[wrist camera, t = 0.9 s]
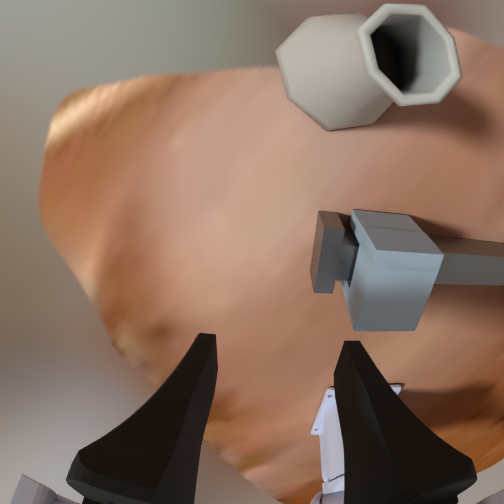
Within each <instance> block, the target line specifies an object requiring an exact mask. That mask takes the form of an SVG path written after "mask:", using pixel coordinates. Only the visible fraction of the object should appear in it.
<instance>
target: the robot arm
mask: <svg viewBox="0 0 504 504" xmlns="http://www.w3.org/2000/svg"><path fill="white" fill-rule="evenodd" d="M217 371H218V362H217V346H216V334H206V333H199V334H198V335H197V337H196V338H195V340H194V342H193V344H192V345H191V347H190V348H189V350H188V351H187V353H186V354H185V356H184V357H183V359H182V360H181V362H180V363H179V364H178V366H177V367H176V368H175V370H174V371H173V372H172V374H171V375H170V376H169V377H168V378H167V380H166V381H165V382H164V383H163V384H162V386H161V387H160V388H159V389H158V390H157V391H156V392H155V393H154V395H153V396H152V397H151V398H150V399H149V400H148V401H147V402H146V403H145V404H144V405H143V406H141V407H140V408H139V409H138V410H137V411H136V412H135V413H134V414H132V415H131V416H130V417H129V418H128V419H126V420H125V421H124V422H123V423H121V424H120V425H119V426H117V427H116V428H114V429H113V430H112V431H110V432H109V433H107V434H106V435H105V436H103V437H101V438H100V439H98V440H97V441H95V442H93V443H91V444H90V445H88V446H86V447H84V448H83V449H81V450H79V451H78V453H77V455H76V457H75V458H74V460H73V462H72V464H71V467H70V470H69V472H68V475H67V478H66V481H67V483H68V484H69V485H70V486H71V487H72V488H73V489H75V490H76V491H77V492H79V493H80V494H81V495H83V496H84V499H83V503H82V504H194V499H195V489H196V481H197V473H198V465H199V457H200V451H201V444H202V440H203V435H204V431H205V427H206V424H207V420H208V416H209V412H210V408H211V404H212V400H213V396H214V392H215V386H216V379H217ZM400 391H401V385H398V384H397V385H389V384H388V382H387V381H386V380H385V378H384V377H383V375H382V374H381V373H380V371H379V370H378V368H377V367H376V365H375V364H374V362H373V361H372V359H371V358H370V356H369V355H368V353H367V351H366V350H365V348H364V347H363V345H362V344H361V342H360V341H344V344H343V347H342V350H341V353H340V356H339V359H338V362H337V365H336V368H335V371H334V387H331V388H328V389H327V390H326V392H325V395H324V398H323V401H322V403H321V406H320V409H319V412H318V414H317V417H316V419H315V422H314V425H313V427H312V430H311V434H312V435H319V437H320V451H321V468H322V477H323V480H324V482H325V483H323V492H318V493H317V494H316V495H315V497H314V498H313V500H312V501H311V504H457V503H458V497H457V495H458V494H460V493H461V492H463V491H464V490H466V489H467V488H469V487H470V486H472V485H473V484H474V483H475V482H476V480H477V475H476V471H475V467H474V464H473V461H472V459H471V458H469V457H468V456H466V455H464V454H463V453H461V452H459V451H458V450H456V449H455V448H453V447H452V446H450V445H449V444H447V443H446V442H445V441H443V440H442V439H441V438H439V437H438V436H437V435H436V434H435V433H434V432H432V431H431V430H430V429H429V428H428V427H427V426H425V425H424V424H423V423H422V422H421V421H420V420H419V419H418V418H417V417H416V416H415V415H414V414H413V413H412V412H411V411H410V410H409V408H408V407H407V406H406V405H405V404H404V403H403V402H402V400H401V399H400V398H399V397H398V394H399V392H400ZM9 504H79V503H77V502H74V501H72V500H69V499H67V498H65V497H63V496H60V495H58V494H56V493H55V492H54V491H53V490H52V489H50V488H48V487H47V486H45V485H43V484H41V483H39V482H37V481H35V480H33V479H31V478H30V477H28V476H26V475H24V474H21V475H20V477H19V480H18V483H17V485H16V487H15V490H14V492H13V495H12V498H11V500H10V503H9ZM477 504H504V490H501V491H499V492H497V493H495V494H493V495H491V496H488V497H487V498H485V499H483V500H481V501H480V502H478V503H477Z"/></svg>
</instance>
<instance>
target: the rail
mask: <svg viewBox="0 0 504 504" xmlns="http://www.w3.org/2000/svg"><path fill="white" fill-rule="evenodd" d="M428 237H429V238H430V239H431V240H432V241H433V242H434V244H435V245H436V246H437V247H438V248H439V249H440V251H441V252H442V253H443V254H444V256H443V259H442V262H441V265H440V268H439V271H438V274H437V277H436V279H435V282H434V284H452V285H504V243H497V242H489V241H480V240H471V239H462V238H453V237H443V236H433V235H428ZM359 245H360V244H359V242H358V240H357V238H356V236H355V234H354V232H353V230H352V228H344V226H343V224H342V222H341V220H340V218H339V215H338V213H337V212H326V211H318V218H317V226H316V233H315V241H314V248H313V255H312V262H311V268H310V273H311V279H312V285H313V291H314V293H332V294H333V289H334V284H335V280H340V281H352V277H353V272H354V268H355V264H356V259H357V255H358V250H359Z"/></svg>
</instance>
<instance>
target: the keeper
mask: <svg viewBox="0 0 504 504" xmlns="http://www.w3.org/2000/svg"><path fill="white" fill-rule="evenodd" d="M350 226H351V228H352V230H353V232H354V234H355V236H356V238H357V240H358V242H359V244H360V245H359V250H358V255H357V259H356V264H355V268H354V272H353V277H352V281H340V283H341V286H342V289H343V293H344V296H345V300H346V305H347V308H348V312H349V315H350V319H351V323H352V327H353V330H354V331H415V329H416V327H417V325H418V322H419V320H420V318H421V315H422V313H423V310H424V308H425V305H426V303H427V301H428V298H429V295H430V293H431V290H432V288H433V285H434V282H435V279H436V277H437V274H438V271H439V268H440V265H441V262H442V259H443V256H444V254H443V253H442V252H441V251H440V249H439V248H438V247H437V246H436V245H435V244H434V242H433V241H432V240H431V239H430V238H429V237H428V235H427V234H426V233H424V232H423V231H422V230H421V229H420V227H419V226H418V225H417V224H416V223H415V222H414V221H413V220H412V219H411V217H410V216H409V215H401V214H392V213H382V212H372V211H362V210H352V214H351V220H350Z"/></svg>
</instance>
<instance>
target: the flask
mask: <svg viewBox="0 0 504 504" xmlns="http://www.w3.org/2000/svg"><path fill="white" fill-rule="evenodd" d="M275 53H276V57H277V60H278V64H279V68H280V71H281V75H282V79H283V83H284V87H285V90H286V94H287V98H288V99H289V100H290V101H291V102H293V103H294V104H295V105H296V106H297V107H299V108H300V109H301V110H302V111H303V112H305V113H306V114H307V115H308V116H309V117H310V118H312V119H313V120H314V121H315V122H316V123H317V124H318V125H320V126H321V127H322V128H323V129H324V130H325V131H330V130H336V129H342V128H349V127H355V126H362V125H369V124H373V123H374V122H375V121H376V120H377V119H378V118H379V117H380V116H381V115H382V114H383V113H384V112H385V111H386V110H387V108H388V107H389V106H390V105H391V104H392V103H393V102H395V103H396V104H397V105H398V106H411V105H424V104H439V103H440V102H441V101H442V100H443V99H444V98H445V97H446V96H447V95H448V93H449V92H450V91H451V90H452V89H453V88H454V87H455V86H456V85H457V83H458V82H459V81H460V80H461V79H462V73H461V67H460V62H459V57H458V52H457V48H456V43H455V39H454V37H453V36H452V34H451V33H450V32H449V31H448V30H447V29H446V27H445V26H444V25H443V24H442V23H441V22H440V21H439V20H438V19H437V18H436V16H434V14H433V13H432V12H431V11H430V10H429V9H428V8H427V7H426V6H425V5H416V4H384V5H382V6H381V7H380V8H379V9H378V10H377V11H376V12H375V13H374V14H373V15H372V16H371V17H370V18H369V19H368V18H367V17H365V16H363V15H361V14H359V13H345V14H344V13H343V14H332V15H323V16H315V17H308V18H307V19H306V20H305V21H304V22H303V23H302V24H301V25H300V26H299V27H298V28H297V29H296V30H295V31H294V32H293V33H292V34H291V35H290V36H289V37H288V38H287V39H286V40H285V41H284V42H283V43H282V44H281V45H280V46H279V48H278V49H277V50H276V51H275Z"/></svg>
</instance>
